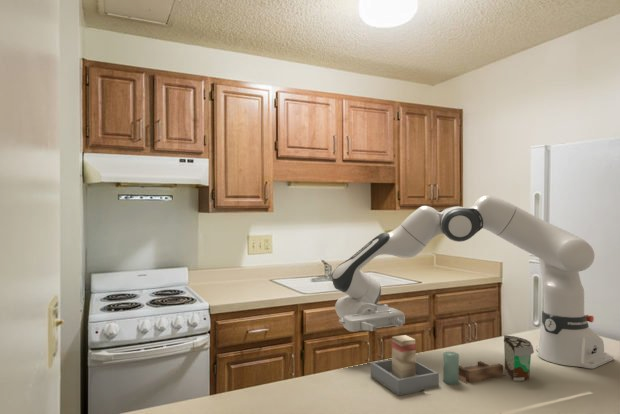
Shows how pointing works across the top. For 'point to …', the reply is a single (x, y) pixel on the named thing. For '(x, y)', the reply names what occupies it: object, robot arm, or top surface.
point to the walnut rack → (480, 372)
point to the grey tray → (404, 385)
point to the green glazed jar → (451, 368)
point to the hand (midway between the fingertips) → (387, 326)
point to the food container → (517, 357)
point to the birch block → (403, 356)
